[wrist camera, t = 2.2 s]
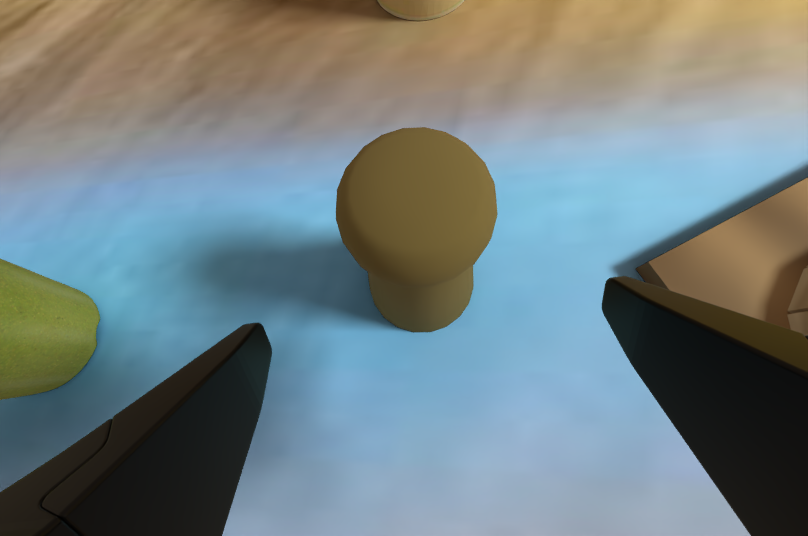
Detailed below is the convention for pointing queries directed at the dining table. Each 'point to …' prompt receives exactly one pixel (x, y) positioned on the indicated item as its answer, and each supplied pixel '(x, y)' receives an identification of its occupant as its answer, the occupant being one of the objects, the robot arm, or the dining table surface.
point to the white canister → (419, 8)
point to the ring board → (747, 262)
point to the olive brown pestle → (417, 223)
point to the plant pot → (42, 332)
